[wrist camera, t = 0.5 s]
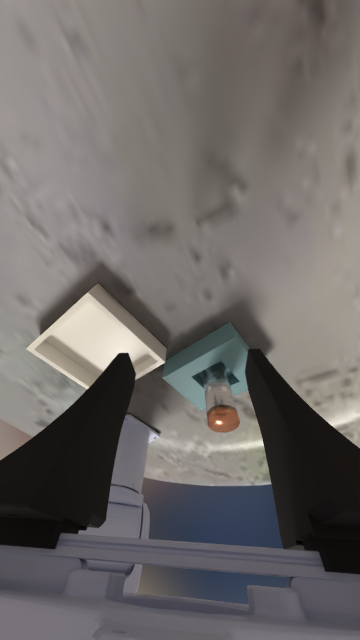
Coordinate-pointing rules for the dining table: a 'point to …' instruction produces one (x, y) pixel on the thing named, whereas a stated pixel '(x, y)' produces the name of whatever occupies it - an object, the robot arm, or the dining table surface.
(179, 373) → the teal socket block
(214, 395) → the copper-capped cylinder
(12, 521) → the robot arm
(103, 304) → the tray
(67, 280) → the dining table surface
